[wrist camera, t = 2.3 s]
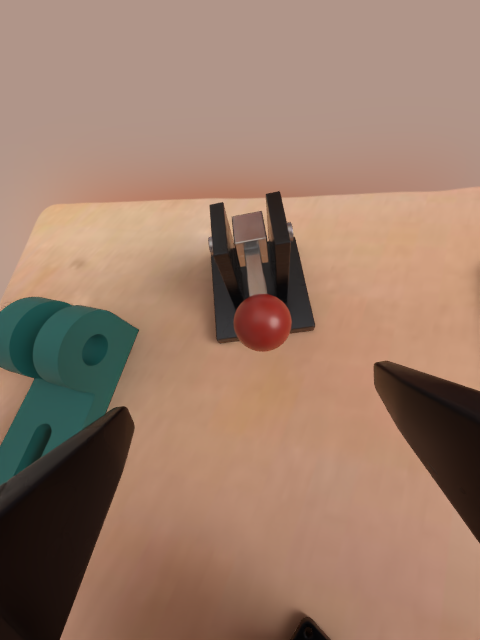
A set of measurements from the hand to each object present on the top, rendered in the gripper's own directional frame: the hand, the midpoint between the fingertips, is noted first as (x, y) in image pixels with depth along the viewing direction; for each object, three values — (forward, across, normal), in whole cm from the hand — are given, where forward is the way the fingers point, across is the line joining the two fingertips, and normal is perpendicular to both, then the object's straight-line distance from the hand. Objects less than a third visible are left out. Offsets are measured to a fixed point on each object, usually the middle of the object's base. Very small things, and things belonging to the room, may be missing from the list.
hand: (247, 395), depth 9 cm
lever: (+10, -1, -1) cm, 10 cm away
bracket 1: (+12, +18, +7) cm, 23 cm away
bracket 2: (+18, -1, +1) cm, 18 cm away
